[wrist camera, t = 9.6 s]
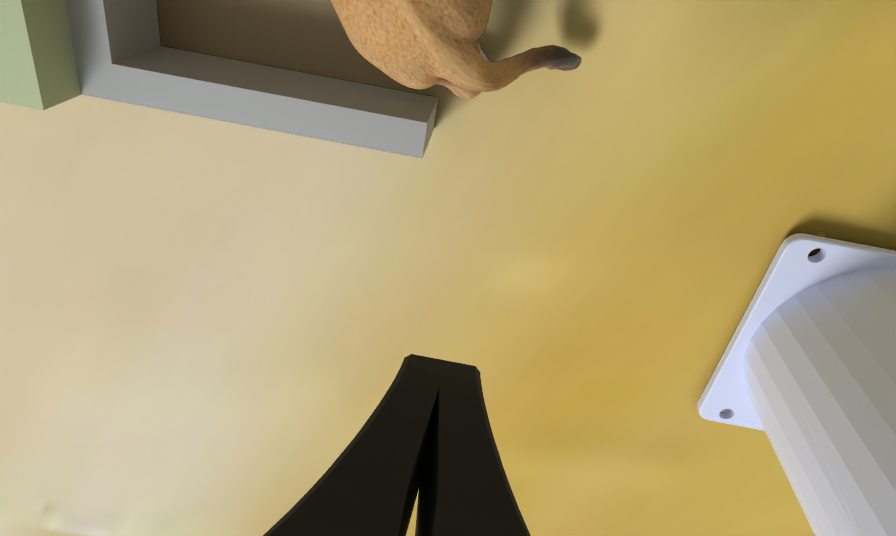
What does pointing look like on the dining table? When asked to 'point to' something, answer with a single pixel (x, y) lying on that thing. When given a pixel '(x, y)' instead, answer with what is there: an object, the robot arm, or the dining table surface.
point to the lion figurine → (438, 44)
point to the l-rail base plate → (190, 77)
